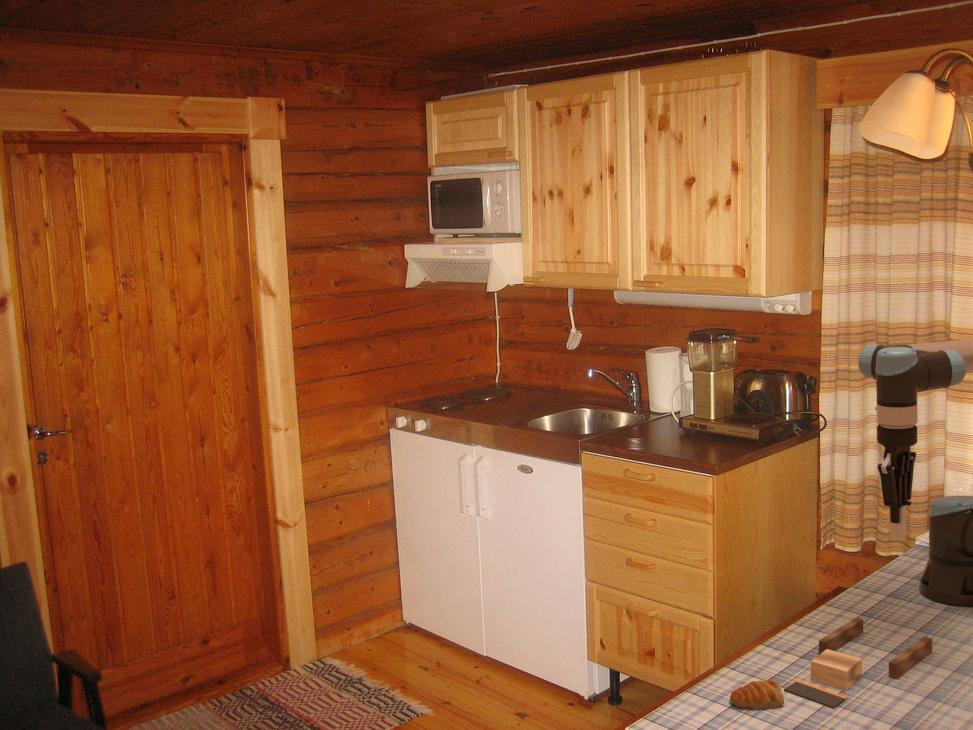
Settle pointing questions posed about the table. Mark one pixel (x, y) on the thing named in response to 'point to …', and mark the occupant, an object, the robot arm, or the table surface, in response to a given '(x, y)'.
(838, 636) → the lane
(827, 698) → the pad
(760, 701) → the pastry
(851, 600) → the table surface
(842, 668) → the block
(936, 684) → the table surface
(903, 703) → the table surface
